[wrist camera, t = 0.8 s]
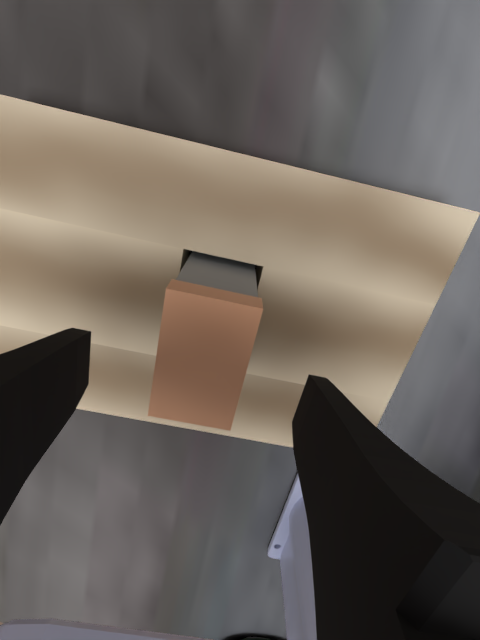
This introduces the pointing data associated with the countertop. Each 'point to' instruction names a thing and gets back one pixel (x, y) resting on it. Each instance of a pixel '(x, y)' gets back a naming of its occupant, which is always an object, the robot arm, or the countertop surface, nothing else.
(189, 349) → the orange brown rectangular block
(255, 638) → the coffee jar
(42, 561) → the countertop surface
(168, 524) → the countertop surface
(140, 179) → the beige wooden board
